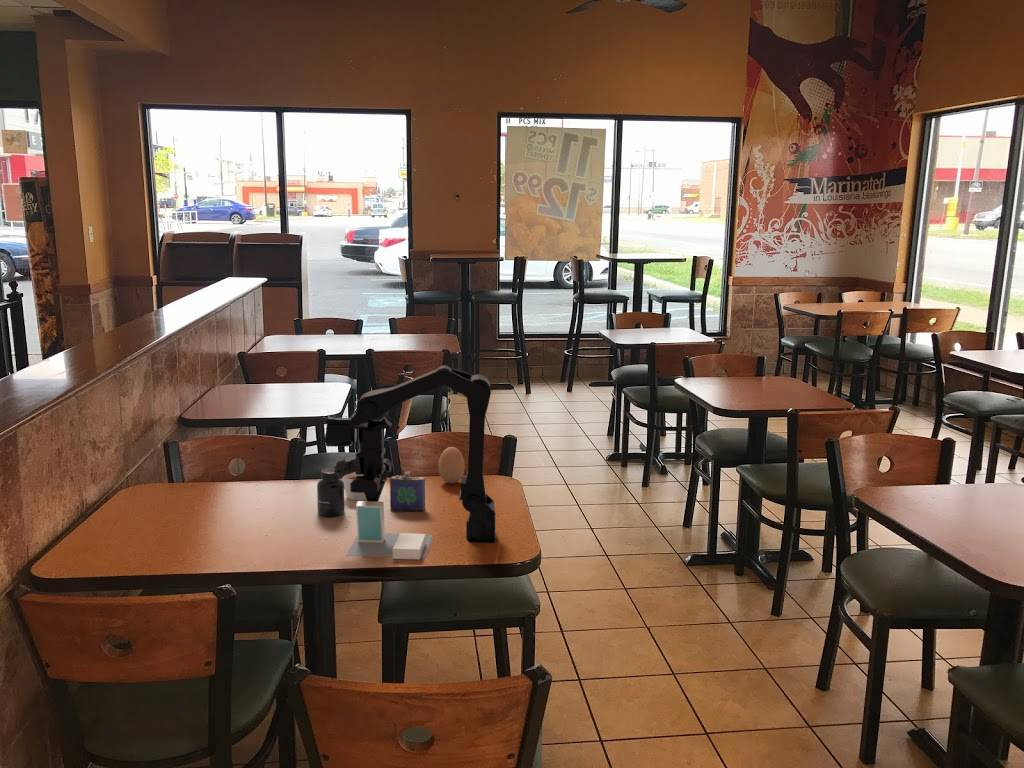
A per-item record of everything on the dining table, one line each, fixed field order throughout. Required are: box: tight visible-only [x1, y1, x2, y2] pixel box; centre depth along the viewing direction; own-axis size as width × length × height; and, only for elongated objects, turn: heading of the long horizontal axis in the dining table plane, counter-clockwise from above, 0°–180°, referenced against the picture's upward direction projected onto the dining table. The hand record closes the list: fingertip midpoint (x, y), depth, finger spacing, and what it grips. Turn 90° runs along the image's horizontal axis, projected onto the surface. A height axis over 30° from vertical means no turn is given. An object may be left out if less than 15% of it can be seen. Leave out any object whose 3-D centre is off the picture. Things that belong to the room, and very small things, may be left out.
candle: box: [341, 472, 367, 501], centre depth 237 cm, size 9×9×6 cm
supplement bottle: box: [316, 467, 345, 519], centre depth 222 cm, size 7×7×12 cm
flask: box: [389, 470, 426, 513], centre depth 226 cm, size 9×3×11 cm, turn 88°
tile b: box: [355, 500, 386, 543], centre depth 203 cm, size 6×2×10 cm, turn 88°
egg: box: [437, 446, 466, 485], centre depth 250 cm, size 8×8×11 cm
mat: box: [345, 533, 434, 559], centre depth 202 cm, size 18×14×1 cm
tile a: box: [392, 532, 426, 560], centre depth 199 cm, size 6×2×10 cm
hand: (372, 509), depth 205 cm, fingers closed
